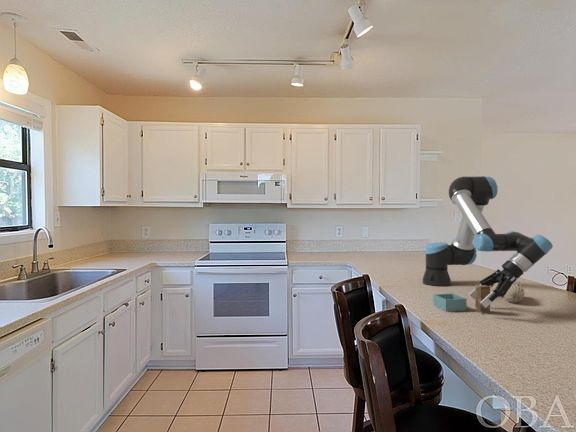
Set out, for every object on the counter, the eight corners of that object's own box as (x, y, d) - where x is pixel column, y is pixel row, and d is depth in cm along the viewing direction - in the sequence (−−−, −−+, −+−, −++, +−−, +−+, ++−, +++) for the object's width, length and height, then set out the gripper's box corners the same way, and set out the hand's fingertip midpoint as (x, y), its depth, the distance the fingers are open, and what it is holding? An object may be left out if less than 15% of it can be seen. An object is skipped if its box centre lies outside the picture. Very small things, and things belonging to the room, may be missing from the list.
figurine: (484, 289, 189) (502, 304, 160) (484, 273, 189) (502, 285, 160) (508, 290, 186) (531, 306, 157) (508, 274, 185) (531, 287, 157)
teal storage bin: (433, 305, 159) (433, 294, 159) (452, 304, 161) (452, 293, 160) (445, 311, 150) (445, 300, 150) (466, 310, 151) (466, 298, 151)
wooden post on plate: (474, 310, 151) (474, 285, 150) (483, 310, 151) (483, 284, 151) (481, 313, 146) (481, 287, 146) (491, 313, 147) (491, 287, 147)
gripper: (497, 255, 159) (461, 287, 162) (523, 264, 134) (480, 302, 137) (510, 267, 158) (473, 299, 161) (539, 278, 133) (495, 316, 136)
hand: (476, 300), depth 149 cm, fingers open, 13 cm apart
